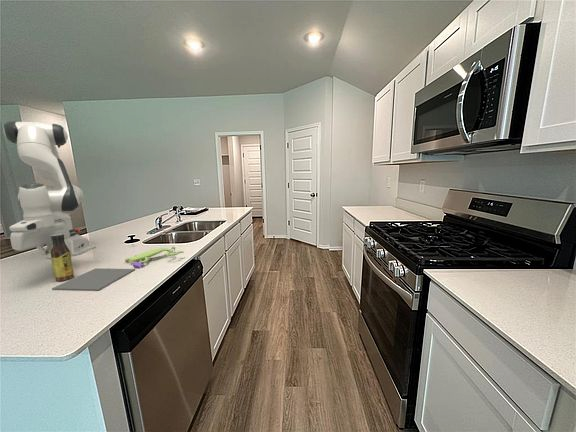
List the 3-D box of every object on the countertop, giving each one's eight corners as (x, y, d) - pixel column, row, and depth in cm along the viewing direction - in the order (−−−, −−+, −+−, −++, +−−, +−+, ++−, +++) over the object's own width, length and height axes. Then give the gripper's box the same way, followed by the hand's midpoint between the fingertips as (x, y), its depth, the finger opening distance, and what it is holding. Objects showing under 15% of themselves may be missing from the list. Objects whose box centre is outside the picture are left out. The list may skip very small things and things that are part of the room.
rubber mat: (95, 269, 115) (95, 268, 115) (135, 270, 113) (135, 268, 113) (52, 289, 95) (51, 288, 95) (98, 290, 94) (98, 289, 94)
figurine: (185, 260, 125) (184, 250, 124) (123, 272, 112) (122, 261, 111) (180, 251, 141) (179, 242, 140) (125, 260, 127) (124, 250, 126)
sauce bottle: (69, 280, 103) (61, 235, 100) (51, 282, 102) (42, 237, 98) (78, 274, 110) (70, 232, 106) (61, 276, 108) (52, 233, 104)
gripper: (58, 218, 112) (64, 246, 114) (3, 228, 92) (12, 262, 94) (71, 217, 111) (76, 246, 114) (18, 228, 91) (26, 262, 94)
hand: (46, 254), depth 104 cm, fingers closed
